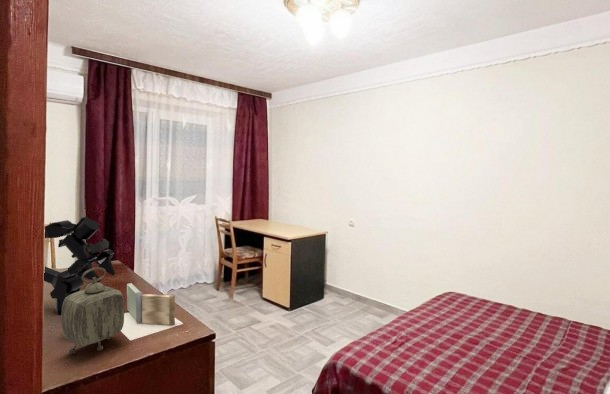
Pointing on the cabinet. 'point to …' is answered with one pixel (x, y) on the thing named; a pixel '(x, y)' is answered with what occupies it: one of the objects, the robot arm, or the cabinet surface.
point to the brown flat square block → (158, 309)
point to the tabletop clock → (92, 313)
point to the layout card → (142, 327)
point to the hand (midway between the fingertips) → (107, 278)
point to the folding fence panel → (134, 302)
